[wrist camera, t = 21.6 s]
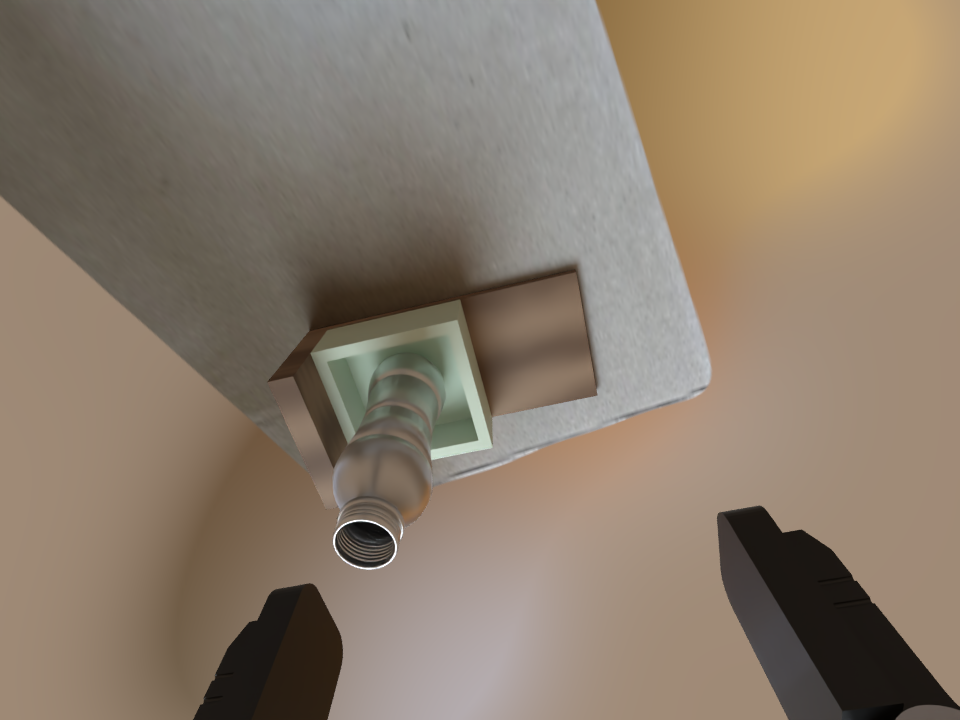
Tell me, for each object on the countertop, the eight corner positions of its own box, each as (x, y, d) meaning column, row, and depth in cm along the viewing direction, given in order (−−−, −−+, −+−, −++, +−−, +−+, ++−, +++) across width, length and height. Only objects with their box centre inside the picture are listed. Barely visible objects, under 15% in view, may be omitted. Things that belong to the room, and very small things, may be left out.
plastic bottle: (427, 333, 45) (387, 479, 27) (460, 396, 48) (444, 569, 29) (361, 360, 46) (280, 518, 28) (397, 421, 49) (344, 602, 31)
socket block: (327, 329, 46) (310, 353, 42) (460, 299, 45) (457, 319, 40) (371, 442, 51) (360, 473, 46) (492, 417, 50) (492, 447, 45)
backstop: (309, 331, 47) (267, 382, 38) (574, 269, 45) (597, 308, 35) (354, 440, 52) (326, 509, 43) (595, 391, 49) (620, 452, 40)
